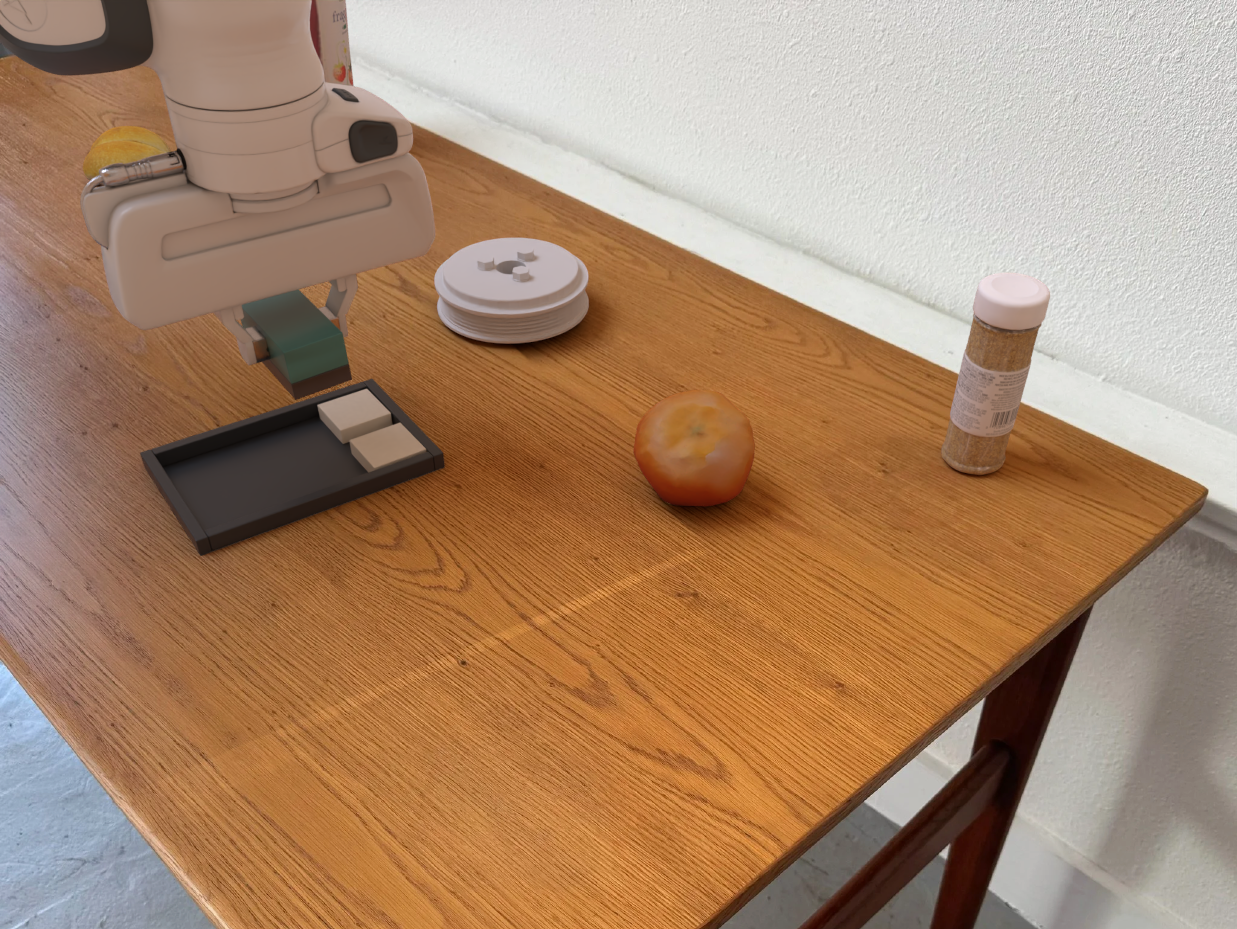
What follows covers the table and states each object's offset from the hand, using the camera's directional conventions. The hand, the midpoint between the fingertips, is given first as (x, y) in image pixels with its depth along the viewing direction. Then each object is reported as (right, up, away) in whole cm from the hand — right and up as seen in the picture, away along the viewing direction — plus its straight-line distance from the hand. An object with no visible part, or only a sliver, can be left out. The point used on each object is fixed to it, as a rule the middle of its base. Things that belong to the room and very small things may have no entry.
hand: (296, 347), depth 77 cm
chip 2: (+5, -7, +6) cm, 10 cm away
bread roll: (-29, +28, +43) cm, 59 cm away
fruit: (+26, -9, +4) cm, 28 cm away
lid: (+12, +8, +22) cm, 26 cm away
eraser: (0, -1, +1) cm, 1 cm away
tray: (-1, -8, +5) cm, 9 cm away
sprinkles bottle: (+47, -7, +7) cm, 47 cm away
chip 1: (+2, -3, +9) cm, 10 cm away
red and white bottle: (-9, +32, +48) cm, 59 cm away
